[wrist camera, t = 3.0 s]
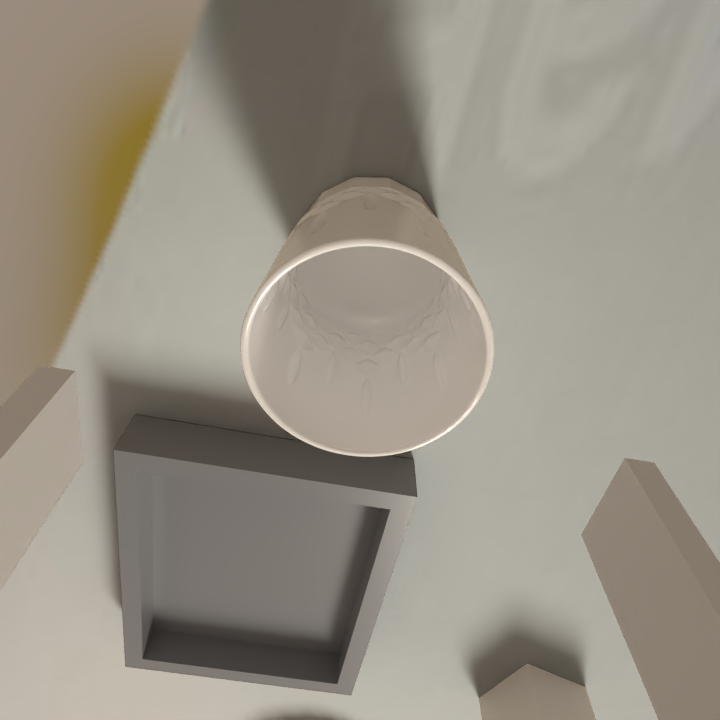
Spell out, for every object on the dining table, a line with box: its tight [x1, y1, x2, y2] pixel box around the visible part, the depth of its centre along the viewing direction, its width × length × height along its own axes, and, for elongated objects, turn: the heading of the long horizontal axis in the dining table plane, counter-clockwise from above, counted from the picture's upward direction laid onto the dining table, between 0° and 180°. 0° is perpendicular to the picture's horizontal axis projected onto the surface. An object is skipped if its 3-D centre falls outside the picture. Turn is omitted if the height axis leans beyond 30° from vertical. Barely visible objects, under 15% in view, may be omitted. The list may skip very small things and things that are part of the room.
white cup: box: [240, 177, 494, 457], centre depth 22 cm, size 8×8×10 cm
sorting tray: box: [113, 415, 417, 695], centre depth 36 cm, size 20×16×3 cm
